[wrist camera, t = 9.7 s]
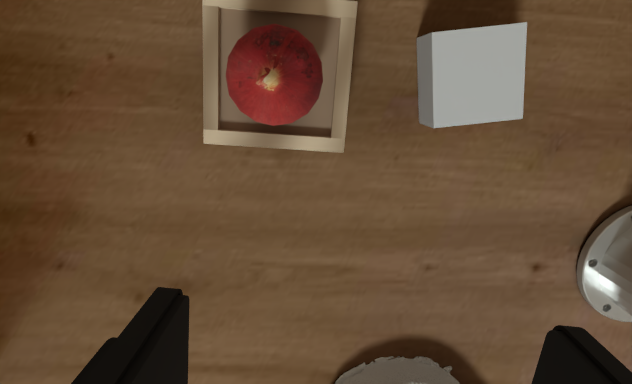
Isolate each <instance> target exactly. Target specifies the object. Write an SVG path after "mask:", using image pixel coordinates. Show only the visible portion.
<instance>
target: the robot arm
mask: <svg viewBox="0 0 632 384" xmlns="http://www.w3.org/2000/svg"><path fill="white" fill-rule="evenodd" d="M577 283H578V286H579V289H580V292H581V294H582V295H583V297H584V299H585V300H586V301H587V302H588V303H589V304H590V305H591V306H592V307H593V308H594V309H595V310H597V311H598V312H599V313H601V314H602V315H604V316H606V317H609V318H611V319H614V320H618V321H622V322H632V205H631V206H628V207H626V208H624V209H622V210H620V211H618V212H616V213H615V214H613V215H612V216H610V217H609V218H607V219H606V220H605V221H604V222H602V223H601V224H600V225H599V226H598V227H597V228H596V229H595V230H594V232H593V233H592V234H591V235H590V237H589V238H588V239H587V241H586V243H585V245H584V247H583V249H582V251H581V254H580V257H579V260H578V265H577ZM188 340H189V297H188V296H185V295H183V293H182V290H181V289H173V288H163V287H158V288H157V289H156V290H155V291H154V292H153V294H152V295H151V296H150V297H149V299H148V300H147V301H146V302H145V304H144V305H143V306H142V308H141V309H140V310H139V311H138V313H137V314H136V315H135V316H134V318H133V319H132V320H131V321H130V323H129V324H128V325H127V326H126V328H125V329H124V330H123V331H122V333H121V334H120V335H119V337H118V338H114V337H113V338H110V339H108V340H107V341H106V342H105V343H104V344H103V346H102V347H101V348H100V349H99V351H98V352H97V353H96V354H95V355H94V357H93V358H92V359H91V360H90V361H89V363H88V364H87V365H86V366H85V367H84V369H83V370H82V371H81V372H80V374H79V375H78V376H77V377H76V378H75V380H74V381H73V382H72V383H71V384H188ZM532 384H632V372H631V371H630V370H628V369H627V368H626V367H625V366H624V365H623V364H622V363H621V362H620V361H619V360H618V359H616V358H615V357H614V356H613V355H612V354H611V353H610V352H609V351H608V350H607V349H606V348H604V347H603V346H602V345H601V344H600V343H599V342H598V341H597V340H596V339H595V338H594V337H592V336H591V335H590V334H589V333H588V332H587V331H586V330H585V329H583V328H580V327H571V326H561V325H558V326H555V327H554V328H553V330H551V331H549V332H548V333H547V335H546V338H545V341H544V344H543V348H542V351H541V354H540V358H539V361H538V364H537V368H536V371H535V374H534V378H533V381H532Z"/></svg>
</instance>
